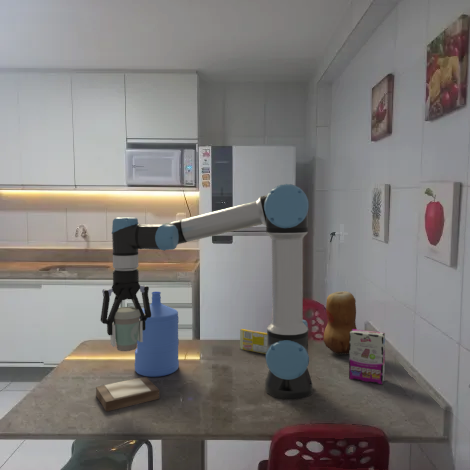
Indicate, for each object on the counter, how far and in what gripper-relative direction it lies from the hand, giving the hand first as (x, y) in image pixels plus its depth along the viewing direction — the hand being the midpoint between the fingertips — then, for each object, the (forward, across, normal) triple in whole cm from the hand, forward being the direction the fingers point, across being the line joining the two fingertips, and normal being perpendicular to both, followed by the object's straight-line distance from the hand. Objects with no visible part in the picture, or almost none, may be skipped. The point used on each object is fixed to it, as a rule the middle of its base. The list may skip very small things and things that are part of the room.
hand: (126, 342), depth 131 cm
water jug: (+17, -16, -17) cm, 29 cm away
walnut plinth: (+17, 0, 0) cm, 17 cm away
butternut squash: (+17, -85, +5) cm, 87 cm away
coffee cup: (+2, 0, 0) cm, 2 cm away
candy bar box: (+17, -74, +28) cm, 81 cm away
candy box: (+17, -58, -14) cm, 62 cm away
